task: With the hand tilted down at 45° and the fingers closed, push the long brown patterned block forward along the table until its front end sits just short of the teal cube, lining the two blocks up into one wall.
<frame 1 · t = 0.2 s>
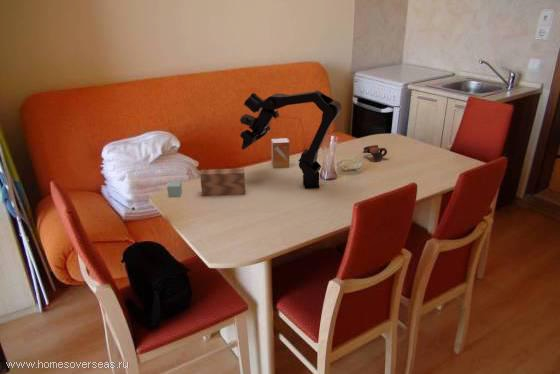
hand: (247, 145, 195), 15 cm above the table, tool tilted 35°, fingers open, 9 cm apart
brown patterned block: (224, 192, 185), on the table
teal cube: (175, 194, 184), on the table
pottery mug: (374, 159, 219), on the table
small box: (280, 166, 212), on the table
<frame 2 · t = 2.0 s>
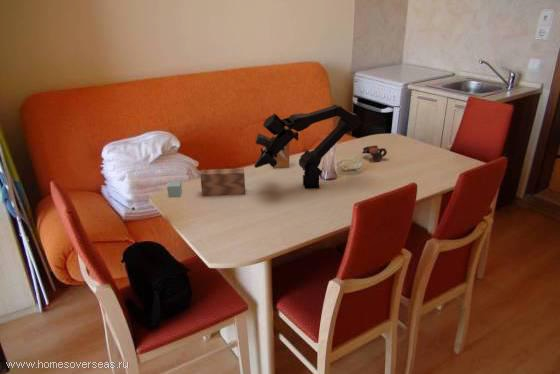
hand: (255, 166, 181), 11 cm above the table, tool tilted 45°, fingers closed
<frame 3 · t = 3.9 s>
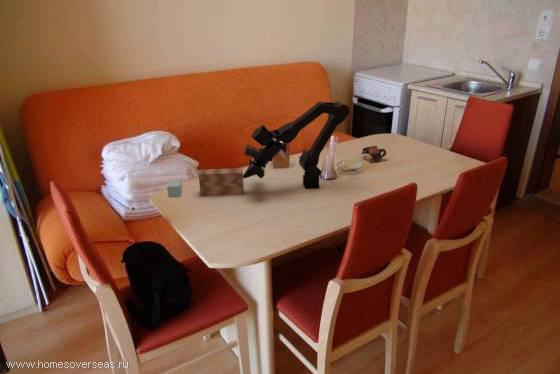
hand: (243, 177, 182), 7 cm above the table, tool tilted 45°, fingers closed, pressing on brown patterned block
brown patterned block: (222, 192, 185), on the table, touching gripper
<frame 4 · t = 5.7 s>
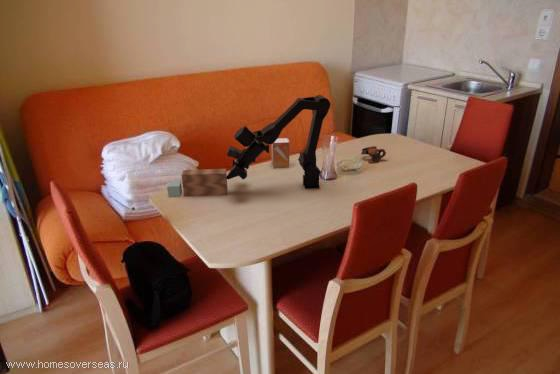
hand: (227, 178, 182), 6 cm above the table, tool tilted 45°, fingers closed, pressing on brown patterned block
brown patterned block: (206, 193, 185), on the table, touching gripper
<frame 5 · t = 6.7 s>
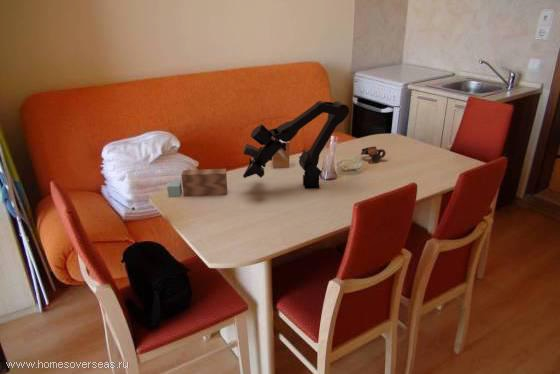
hand: (243, 176, 183), 7 cm above the table, tool tilted 45°, fingers closed
brown patterned block: (205, 193, 185), on the table
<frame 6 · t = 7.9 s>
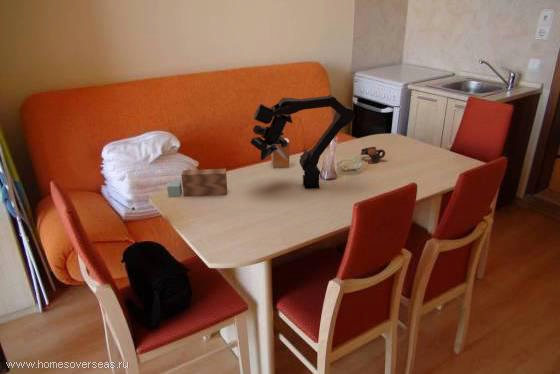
hand: (261, 159, 184), 13 cm above the table, tool tilted 25°, fingers closed
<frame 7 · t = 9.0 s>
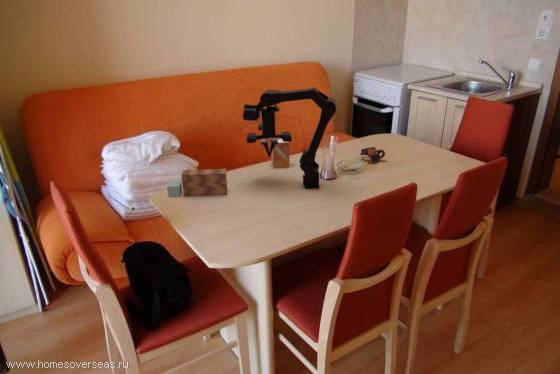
hand: (269, 156, 187), 13 cm above the table, tool pointing down, fingers closed
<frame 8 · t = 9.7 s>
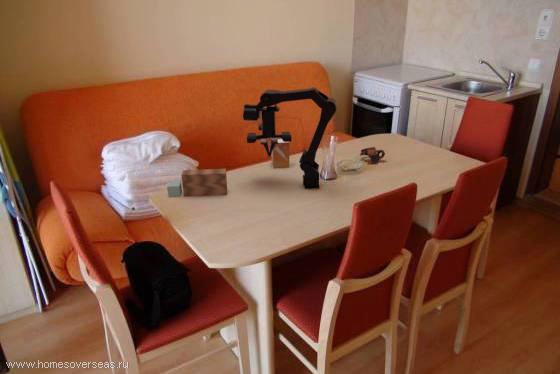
hand: (269, 156, 187), 13 cm above the table, tool pointing down, fingers closed
at the end: brown patterned block inside the target area (0.5 cm from its centre), on the table; brown patterned block 12.8 cm from the teal cube (horizontally); brown patterned block tilted 0° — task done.
